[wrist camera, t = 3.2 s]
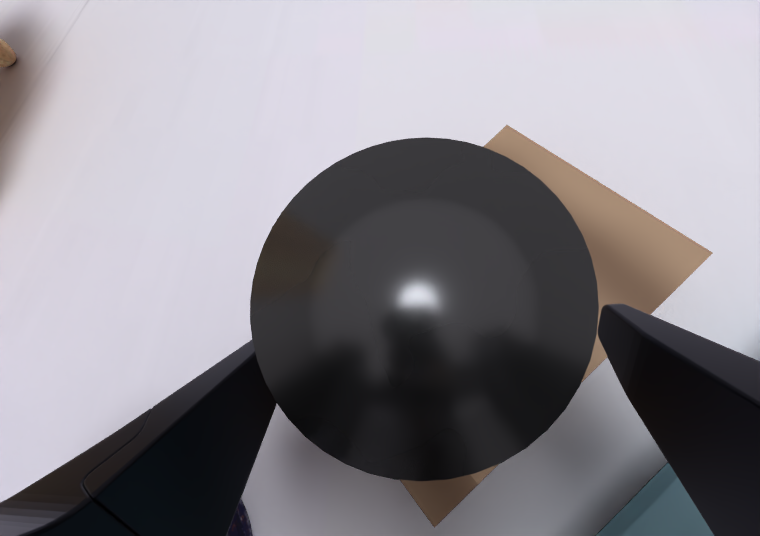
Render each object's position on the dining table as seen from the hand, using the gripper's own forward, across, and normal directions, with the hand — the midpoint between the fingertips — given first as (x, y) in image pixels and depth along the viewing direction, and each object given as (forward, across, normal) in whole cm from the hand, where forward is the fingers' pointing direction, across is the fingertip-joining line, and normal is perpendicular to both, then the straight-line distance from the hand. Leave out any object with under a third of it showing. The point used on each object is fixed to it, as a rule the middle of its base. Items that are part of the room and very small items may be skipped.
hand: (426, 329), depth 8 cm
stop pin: (+6, 0, +6) cm, 9 cm away
